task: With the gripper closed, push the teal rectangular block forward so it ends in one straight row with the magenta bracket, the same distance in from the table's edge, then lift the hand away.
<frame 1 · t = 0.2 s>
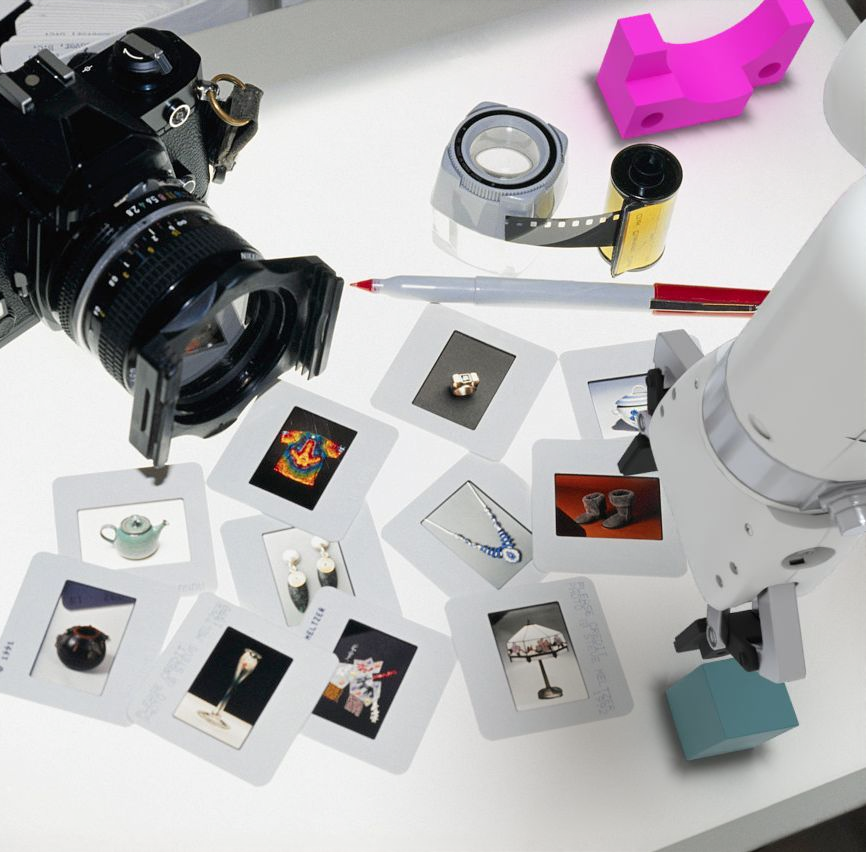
hand: (673, 551, 63), 21 cm above the table, tool pointing down, fingers open, 9 cm apart
teal rectangular block: (706, 720, 80), on the table
magenta bracket: (691, 97, 102), on the table
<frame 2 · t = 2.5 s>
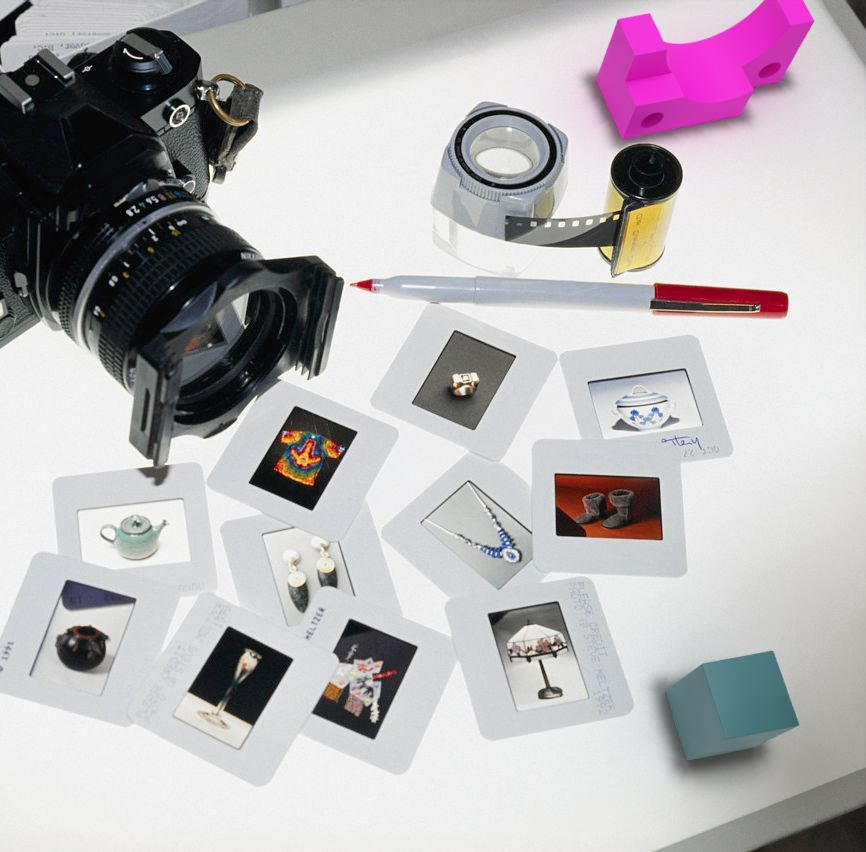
nothing on the table moved.
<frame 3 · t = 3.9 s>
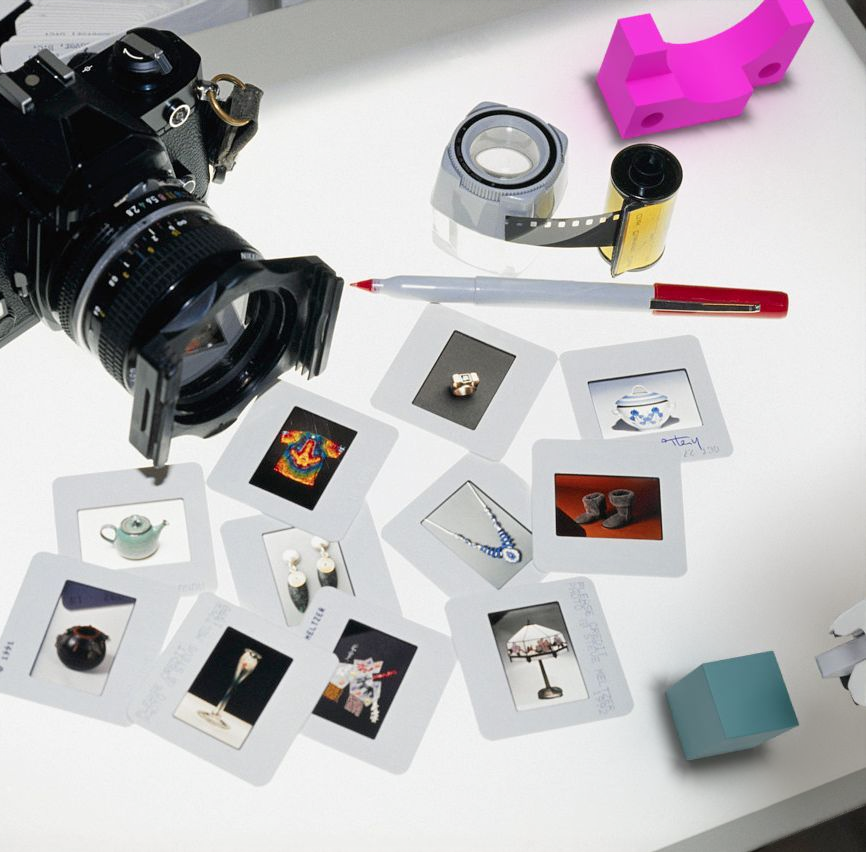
hand: (857, 678, 74), 8 cm above the table, tool pointing down, fingers closed
nothing on the table moved.
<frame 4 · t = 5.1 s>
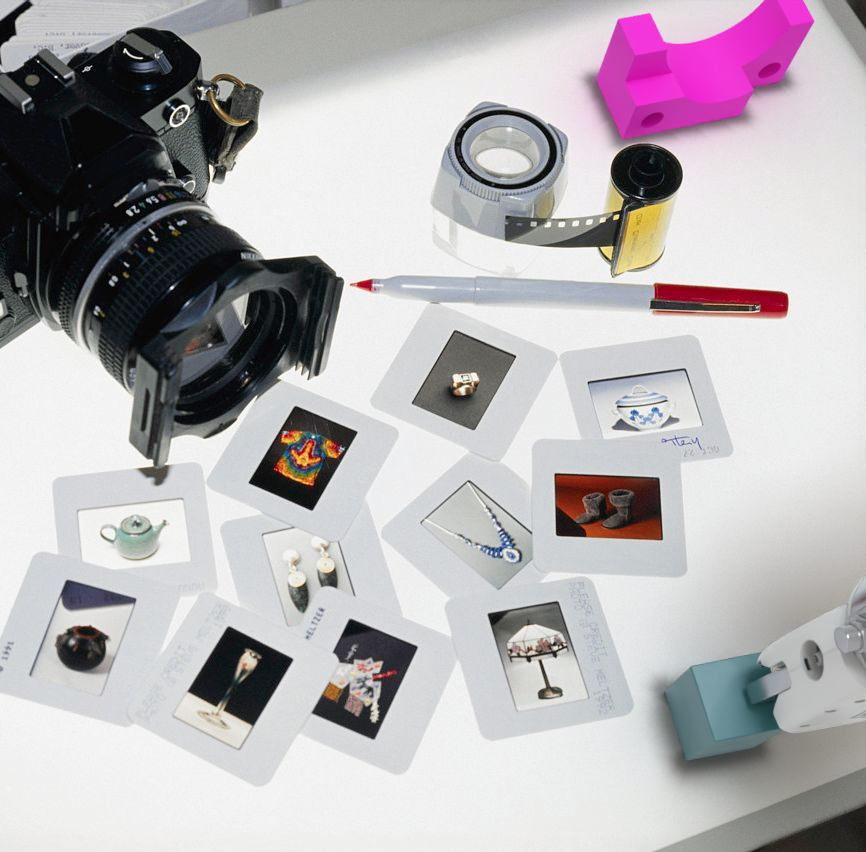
hand: (791, 701, 79), 2 cm above the table, tool pointing down, fingers closed
teal rectangular block: (707, 719, 80), on the table, touching gripper
everything else where it was.
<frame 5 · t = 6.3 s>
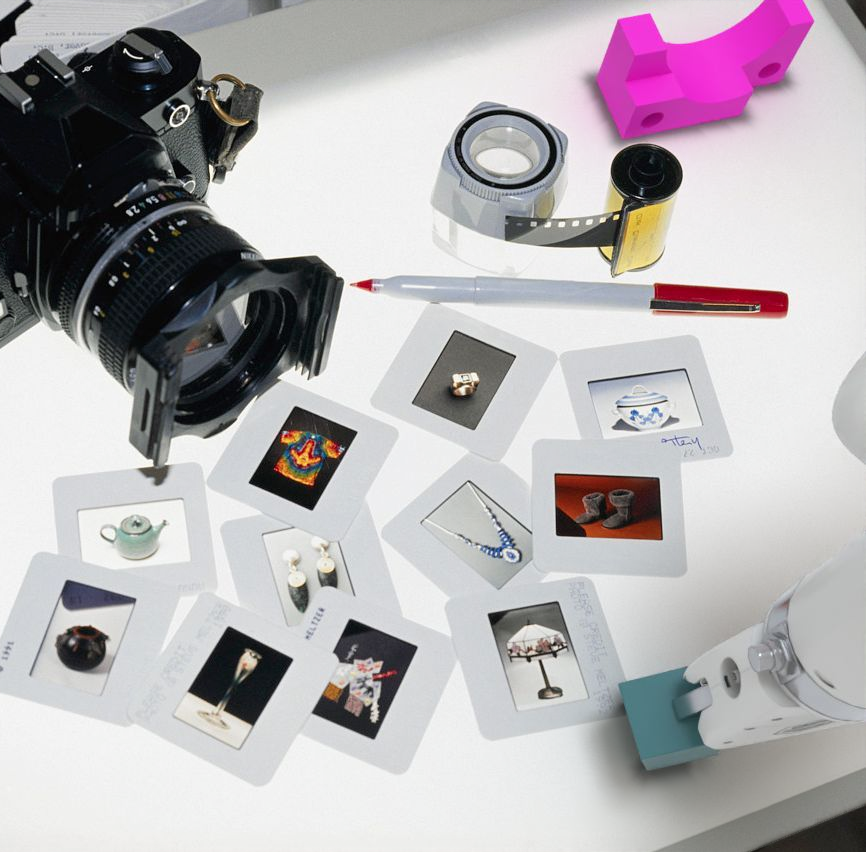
hand: (724, 714, 78), 2 cm above the table, tool pointing down, fingers closed
teal rectangular block: (671, 727, 79), point 1 cm above the table, tilted 19°, touching gripper
everything else where it was.
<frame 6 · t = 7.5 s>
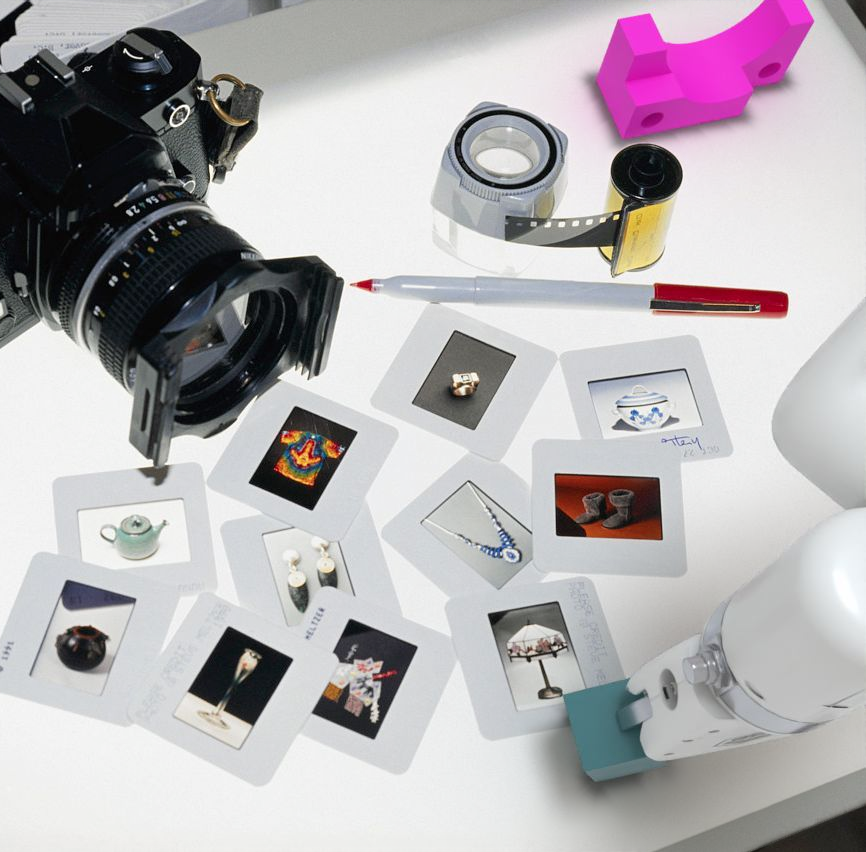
hand: (672, 725, 78), 2 cm above the table, tool pointing down, fingers closed
teal rectangular block: (620, 738, 79), point 1 cm above the table, tilted 19°, touching gripper
everything else where it was.
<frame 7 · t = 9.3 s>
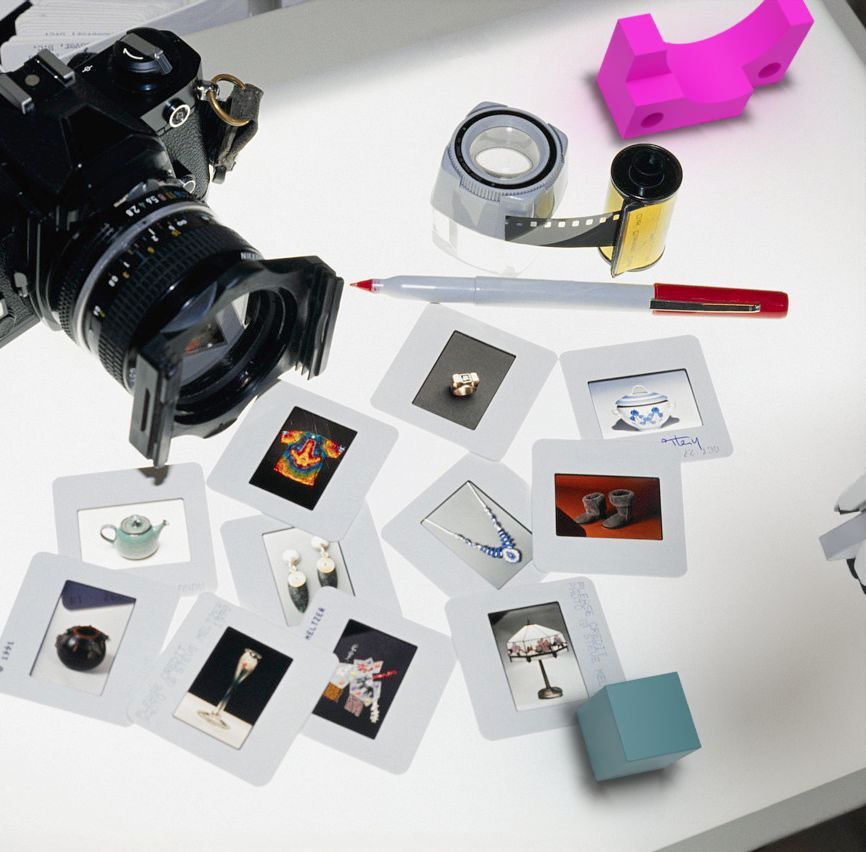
teal rectangular block: (617, 740, 80), on the table
everything else where it was.
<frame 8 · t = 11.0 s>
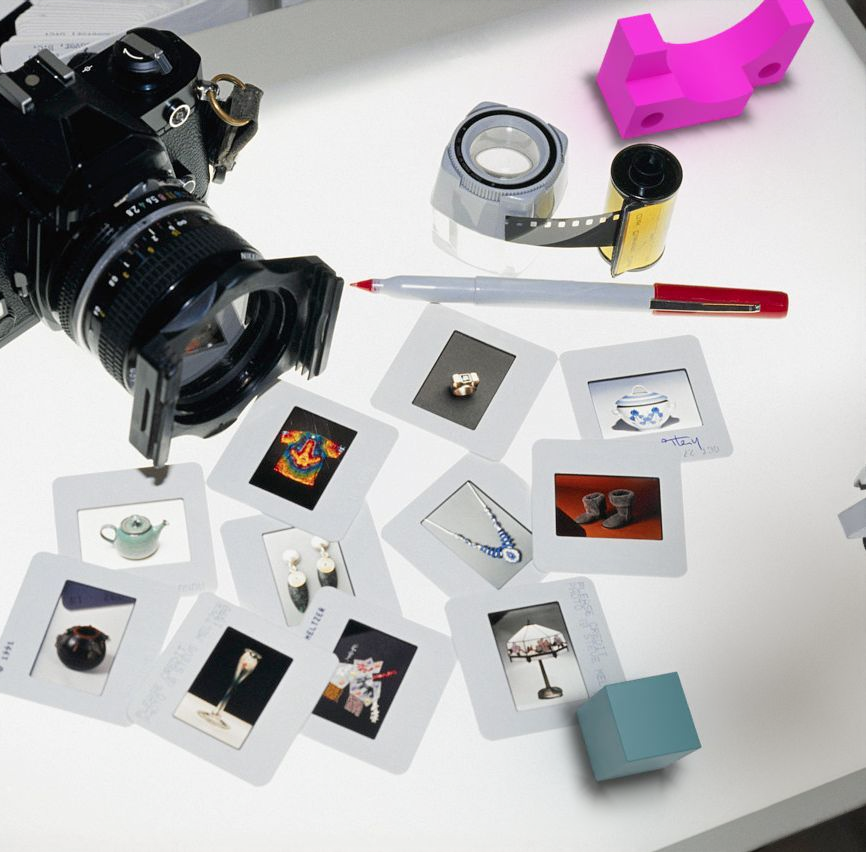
nothing on the table moved.
at the end: teal rectangular block 0.4 cm from the target spot, on the table; teal rectangular block tilted 0°; magenta bracket moved 0.2 cm from its start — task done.
